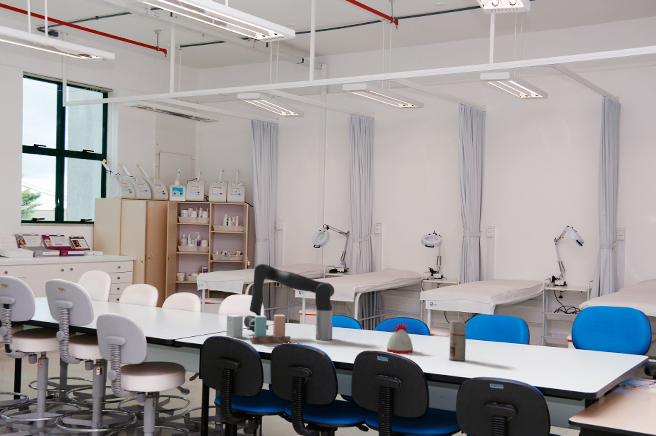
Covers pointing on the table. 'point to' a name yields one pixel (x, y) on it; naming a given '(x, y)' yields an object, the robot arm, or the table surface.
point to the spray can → (457, 340)
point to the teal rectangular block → (260, 326)
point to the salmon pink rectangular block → (279, 325)
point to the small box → (234, 325)
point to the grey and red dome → (400, 341)
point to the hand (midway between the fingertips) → (259, 329)
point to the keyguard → (270, 339)
